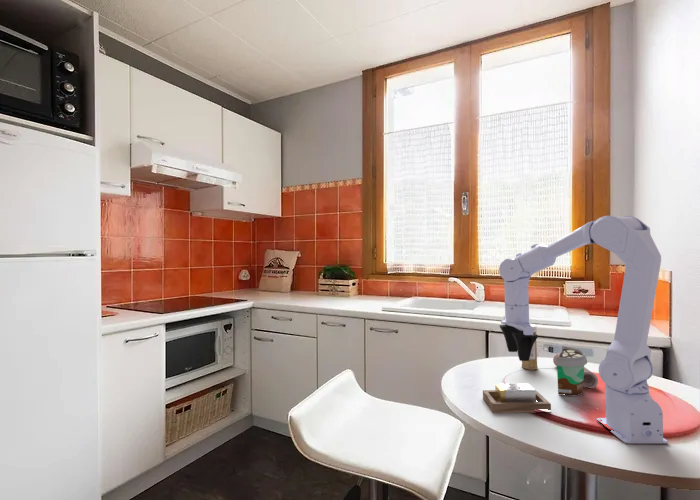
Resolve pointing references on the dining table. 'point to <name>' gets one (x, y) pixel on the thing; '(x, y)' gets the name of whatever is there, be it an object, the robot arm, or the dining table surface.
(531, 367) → the sprinkles bottle
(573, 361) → the food container
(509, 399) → the white yellow block
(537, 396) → the wooden tray
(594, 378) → the coil
